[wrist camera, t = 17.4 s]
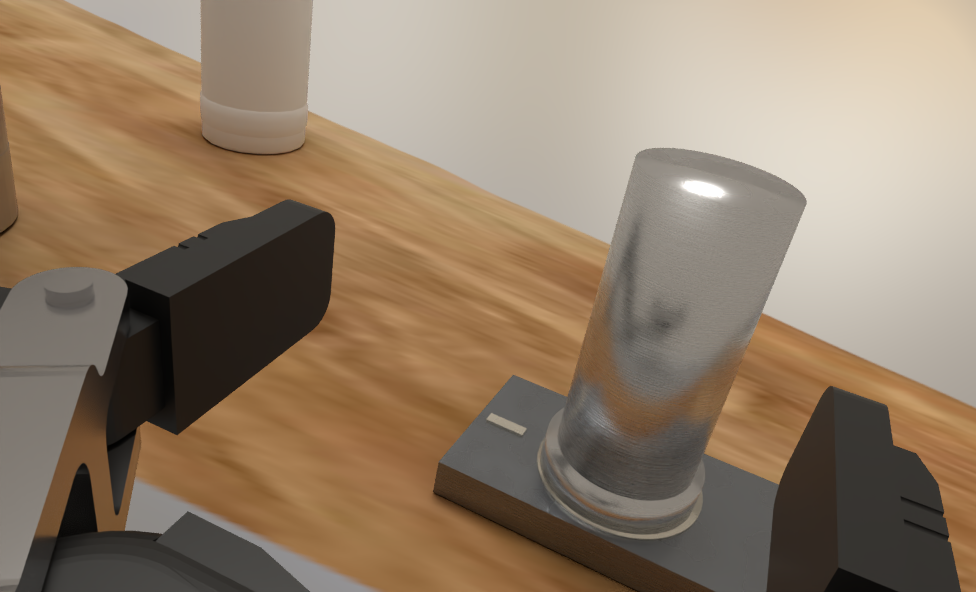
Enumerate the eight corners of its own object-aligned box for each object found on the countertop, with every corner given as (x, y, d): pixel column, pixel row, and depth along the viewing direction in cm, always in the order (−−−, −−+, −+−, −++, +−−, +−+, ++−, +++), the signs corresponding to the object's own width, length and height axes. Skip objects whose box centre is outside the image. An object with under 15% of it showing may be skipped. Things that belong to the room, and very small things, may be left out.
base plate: (771, 514, 30) (786, 485, 29) (750, 645, 24) (767, 613, 23) (506, 401, 33) (513, 373, 33) (433, 492, 28) (439, 459, 27)
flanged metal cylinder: (728, 513, 27) (863, 216, 21) (596, 552, 24) (712, 221, 19) (633, 413, 32) (724, 145, 26) (512, 436, 29) (585, 141, 23)
